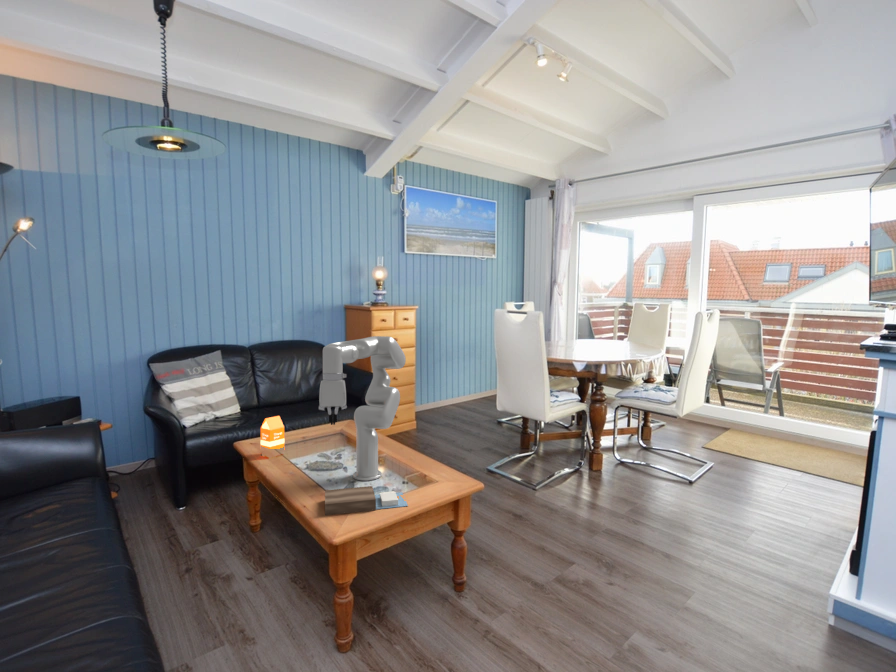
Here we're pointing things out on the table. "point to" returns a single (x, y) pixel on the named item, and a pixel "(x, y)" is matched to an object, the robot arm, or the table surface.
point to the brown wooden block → (349, 500)
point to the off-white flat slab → (388, 498)
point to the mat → (400, 504)
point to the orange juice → (272, 433)
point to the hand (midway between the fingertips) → (332, 424)
